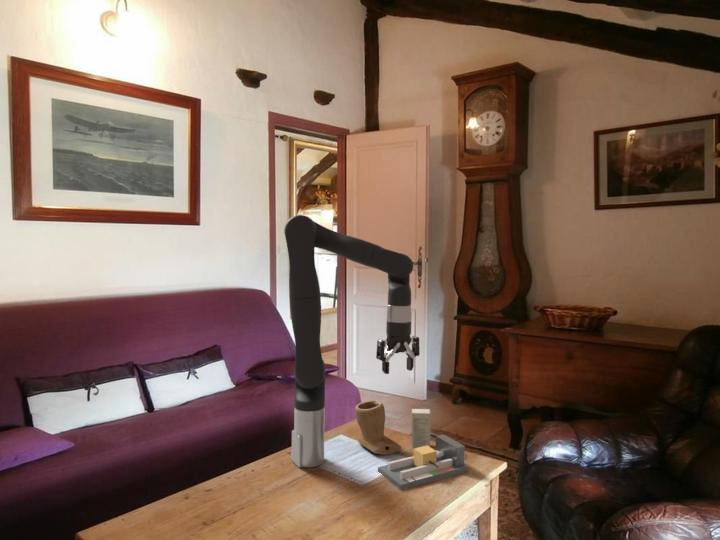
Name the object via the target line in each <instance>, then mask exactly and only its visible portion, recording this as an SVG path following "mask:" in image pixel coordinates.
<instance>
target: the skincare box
mask: <svg viewBox="0 0 720 540" xmlns="http://www.w3.org/2000/svg"><path fill="white" fill-rule="evenodd" d="M423 446H429V447H431V409H430V408H411V449H413V450H414V448H418V447H423Z"/></svg>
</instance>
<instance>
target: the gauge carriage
mask: <svg viewBox="0 0 720 540" xmlns="http://www.w3.org/2000/svg"><path fill="white" fill-rule="evenodd" d="M412 456H413V464H414V465H415V466H417V467H419V466H423V465H427V464H433V465H434V466H436V467H437V468H438V467H439V466H438V465H436V464H434V463H435V462H436V458H438V457H442V456H444V452H443V451H438V452H437V451H436V449H434V448H432V447H431V446H430V447H429V446H423V447H418V448H414V449H413V455H412Z"/></svg>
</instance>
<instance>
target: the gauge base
mask: <svg viewBox="0 0 720 540" xmlns="http://www.w3.org/2000/svg"><path fill="white" fill-rule="evenodd" d="M437 452H438V451H437ZM413 456H414V455H412V456H408V457H405V458H401V459H396V460H393V461H389V462H387V464H386V465H382V466H378V467H377V473H378V472H379V473H381V474H382V475H383V476H384V477H383V476H382V475H381V474H380V475H381V476H382V477H383V478H384V479H386V480H387V479H388V480H389V481H388V480H387V481H388V482H389V483H391V482H392V483H393V484H394V485H393V484H392V483H391V484H392V485H393V486H394V487H396V486H397V487H398V488H399V489H398V488H397V487H396V488H397V489H398V490H399V491H404V490H405V489H406V488H407V489H410V488H413V487H417V486H420V485H424V484H428V483H431V482H434V481H439V480H442V479H445V478H449V477H452V476H457V475H460V474H464V473H466V472H468V470H469V467H468V465H466V464H464V466H461V467H457V468H456V467H454V466H453V465H452V459H446V460H443V459H442V458H440V457H438V458H436V462H435V463H434V464H436V465H438V466H439V467H438V468H437V467H436V466H434V465H433V464H427V465H423V466H419V467H417V466H415V465H414V464H413ZM379 473H378V474H379Z"/></svg>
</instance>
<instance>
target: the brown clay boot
mask: <svg viewBox="0 0 720 540" xmlns="http://www.w3.org/2000/svg"><path fill="white" fill-rule="evenodd" d="M354 416H355V419H356V422H357V425H358V426H359V429H360V433H361V435H360V436H358V437H357V441H358V443H359V444H360V445H361V446H363V447H364V448H365V449H367V450H369V451H371V452H372V453H375V454H377V455H382V456H383V455H384V456H387V455H392V454H395V453H397V452H400V451H401V450H402V448H403V447H402V446H401V445H400V444H398V443H397V442H396V441H394V440H392V439H391V438H389V437H388V436H386V435H385V432H384V431H385V425H386V411H385V405H384V404H383V403H382V402H381V401H377V400H373V399H372V400H366V401H362V402H360V403H358V404H356V405H355V408H354Z"/></svg>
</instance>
